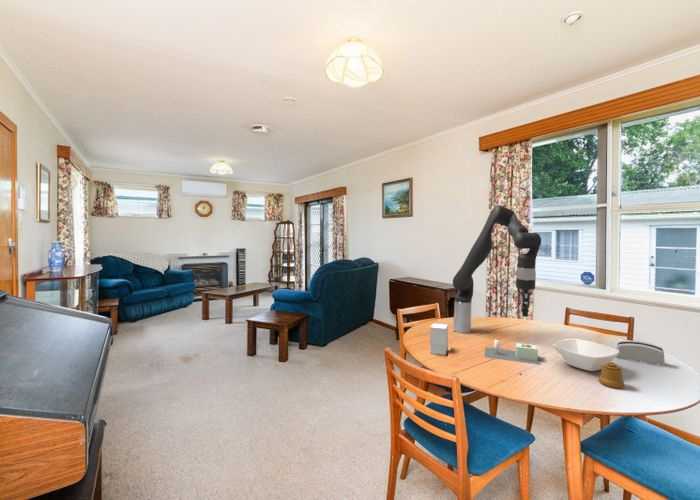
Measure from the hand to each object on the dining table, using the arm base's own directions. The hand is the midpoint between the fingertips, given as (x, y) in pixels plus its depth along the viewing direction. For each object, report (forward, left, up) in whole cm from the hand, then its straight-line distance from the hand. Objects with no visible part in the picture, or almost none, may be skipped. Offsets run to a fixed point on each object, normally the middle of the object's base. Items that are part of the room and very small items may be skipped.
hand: (524, 314), depth 149 cm
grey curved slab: (+47, +18, -21) cm, 54 cm away
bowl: (+23, +1, -21) cm, 31 cm away
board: (-5, -1, -20) cm, 21 cm away
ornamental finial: (+28, -15, -21) cm, 38 cm away
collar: (+1, -1, -19) cm, 19 cm away
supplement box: (-36, -5, -21) cm, 42 cm away
